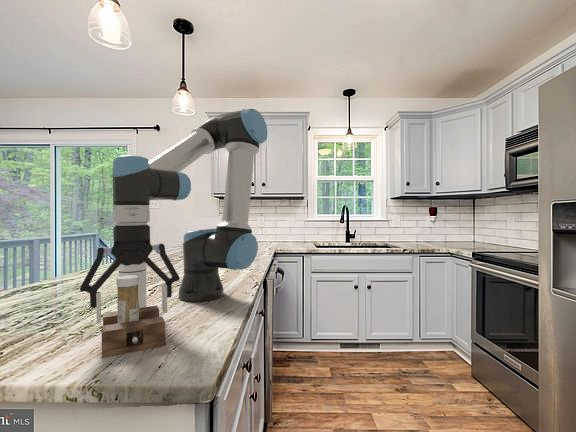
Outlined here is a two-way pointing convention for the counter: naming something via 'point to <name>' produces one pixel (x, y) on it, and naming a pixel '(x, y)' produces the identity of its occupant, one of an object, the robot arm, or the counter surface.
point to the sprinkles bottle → (128, 299)
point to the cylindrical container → (141, 272)
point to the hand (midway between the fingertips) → (133, 316)
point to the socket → (116, 332)
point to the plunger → (134, 336)
